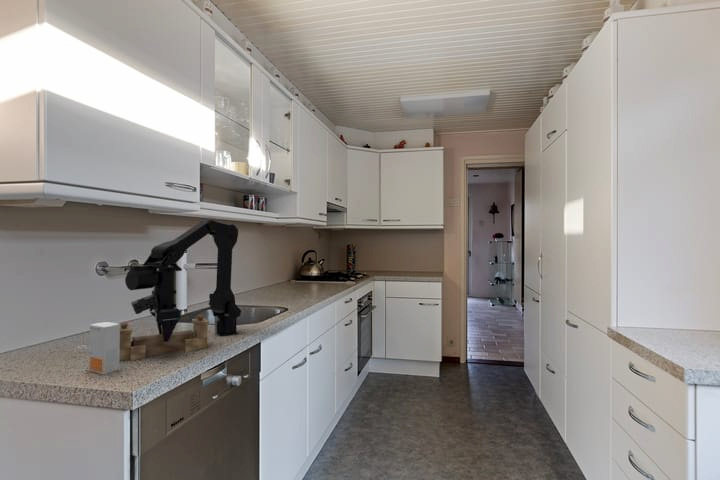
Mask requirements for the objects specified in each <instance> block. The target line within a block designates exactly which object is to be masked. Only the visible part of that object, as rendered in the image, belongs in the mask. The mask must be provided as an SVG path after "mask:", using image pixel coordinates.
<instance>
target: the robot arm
mask: <svg viewBox="0 0 720 480" xmlns="http://www.w3.org/2000/svg"><path fill="white" fill-rule="evenodd" d="M207 235H209V236H213V242H214V244H215V246H216V248H217V261H216V264H217V266H216V284H215V285H216V286H215V289H214V291H213V293H210V294H209V297H208V298H209V301H208V306H209V308H210V309H209V310H211V312H212V316H213V317H216V320H215V321H214V333H215V334H216V335H218V336H220V337H222V336H230V335H231V336H232V335H237V334H238V333H239V331H237V321H238V319H237V318H239V317H241V314H242V309H240V308H239V306H238V305H237V304H236V297H235V294H234V292H233V290H232V288H231V286H232V265H233V264H232V263H233V249H234V247H235V245H236V244H237V242H238V237H239V229H238V227H237V226H236V225H235V224H233V223H232V224H227V223H223V222H219V221H216V220H213V219H202V220H200V221H198V223H197V224H196V225H194V226H193V227H190V229H188V230H187V231H185V232H183V233H181V235H179V236H177V237H176V238H174V239H171V240H169V241H165V242H163V243H159V244H158V245H157V244H156V245H155V246H154V247H152V249H151V251H150V254H149V256H148V257H147V259H146V260H145V261H144V263H143V264H142V265H130V267H129V269H130V270H128V271H127V274H126V276H125V281H124V283H125V286H126V288H127V289H128V290H130V291H138V290H145V289H152V290H151V294H150V295H148V296H145V297H141V298H137V300H134V301H131V302H130V304H131V306H132V308H133V312H134V314H135V315H138V314H142V312H144V311H147V310H148V311H149V313H150V315H151V316H153V317H154V318H155V321H156V325H157V330H158V334H163V339H164V342H167V341H169V339H170V336H171V334H172V333H173V332H174V330H175V328H176V326H177V324H178V322H179V321H180V319H181V318H182V317H181V316H182V311H181V310H180V309H179V308H177V303H176V300H175V299H176V295H177V289H176V272H182V271H183V269H182V267H180V266H179V265H178V264H177V263H178V261H180V260H181V259H182V258H183V257H184V254H185V252H186V251H187V249H189V248H190V247H192V246H193V245H194V244H196V243H197V242H199V241H200V240H202V239H203V238H204V237H206V236H207Z"/></svg>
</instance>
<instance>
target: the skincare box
mask: <svg viewBox="0 0 720 480" xmlns="http://www.w3.org/2000/svg"><path fill="white" fill-rule="evenodd" d="M120 325H121V323H115V322H109V321H103V322H98V323H92V324H90V325H89V343H88V344H89V346H88V350H89V353H88V354H89V356H88V371H89V372H93V373H97V374H101V375H107V374H110V373H113V372H117V371H120V361H119V355H120Z"/></svg>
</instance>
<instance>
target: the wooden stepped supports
mask: <svg viewBox="0 0 720 480" xmlns="http://www.w3.org/2000/svg"><path fill="white" fill-rule="evenodd" d="M191 322H192V326H193V327H192V328H193V329H192V332H194V338H193V339H185V350H184V352H185V353H188V352H189V353H191V352H195V351H199V350H201V349H206V348H208V328H209V327H208V325H209V324H210V321H209V320H207V319H206V318H205V317H204V315H203V314H198V315H197V317H196V318H192V319H191ZM132 333H133V328H132V326H131V325H129V324H128V322H127V321H123V322H121V323H120V355H119V362H120V361H126V360H130V361H135V360H143V359H146V356H145V348H146V346H145V345H140V346H132Z"/></svg>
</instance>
